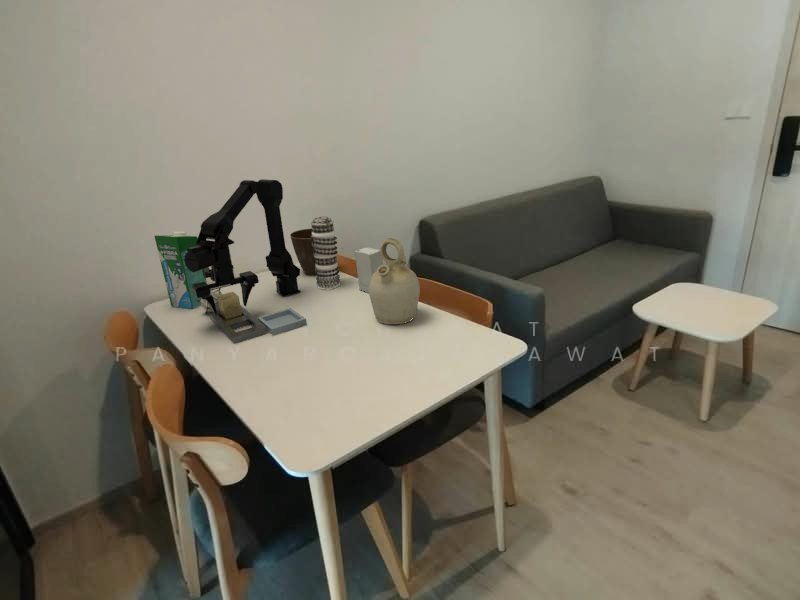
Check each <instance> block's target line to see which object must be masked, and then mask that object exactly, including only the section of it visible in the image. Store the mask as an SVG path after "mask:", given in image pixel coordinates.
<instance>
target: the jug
mask: <svg viewBox="0 0 800 600" xmlns="http://www.w3.org/2000/svg"><path fill="white" fill-rule="evenodd" d="M388 245H392V246H394V247H395V250H396V251H397V258H392V257H390V256H389V255H388V253H387V247H388ZM379 250H380V253H381V256H382V260H383V261H384V262H385V263H386V264H383V265H381V266H379V267H378V269H377V271H376V272H375V273H374V274H373V275H372V277H371V280H370V283H369V293H368V294H369V299H370V304H371V307H372V310H373V314H374V316H375V320H376V319H377V320H376V321H377V322H378V321H379V322H378V323H380V322H381V323H380V324H383V323H384V324H383V325H387V324H400V325H402V324H401V323H405V322H408V321H410V320H411V319H412V318H414V316H415V317H416V314H417V310H418V304H419V301H420V300H419V299H420V294H421V286H420V280H419V279H418V277H417V274H416V272H414V271H413V270H412V269H411V268H409V267H407V266H406V265H407V264H408V262H407V258H406V255H405V249H404V246H403V244H402V243H401V242H400V241H399V240H398V239H396V238H392V237H391V238H386V239H385V240H384V241H382V243H381V245H380V249H379ZM414 319H415V318H414ZM410 322H411V321H410ZM408 323H409V322H408ZM405 324H406V323H405Z"/></svg>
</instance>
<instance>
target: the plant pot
mask: <svg viewBox="0 0 800 600" xmlns="http://www.w3.org/2000/svg"><path fill="white" fill-rule="evenodd" d="M311 234H312V228H305V229H304V228H303V229H299V230H296V231H293V232H291V233H290V234H289V236H290V240H291V243H292V246H293V250H294V252H295V253H294V254H295V255H296V258H297V261H298V263H299V266H300V268H301V269H302V271H303V273H304V275H307V276H317V275H316V271H315V268H316V265H315V264H316V260H315V257H314V254H313V253H314V251H312V248H313V247H312V243H313V242H312V241H311V238H312V237H310V235H311ZM313 240H314V239H313ZM314 250H315V249H314Z"/></svg>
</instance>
